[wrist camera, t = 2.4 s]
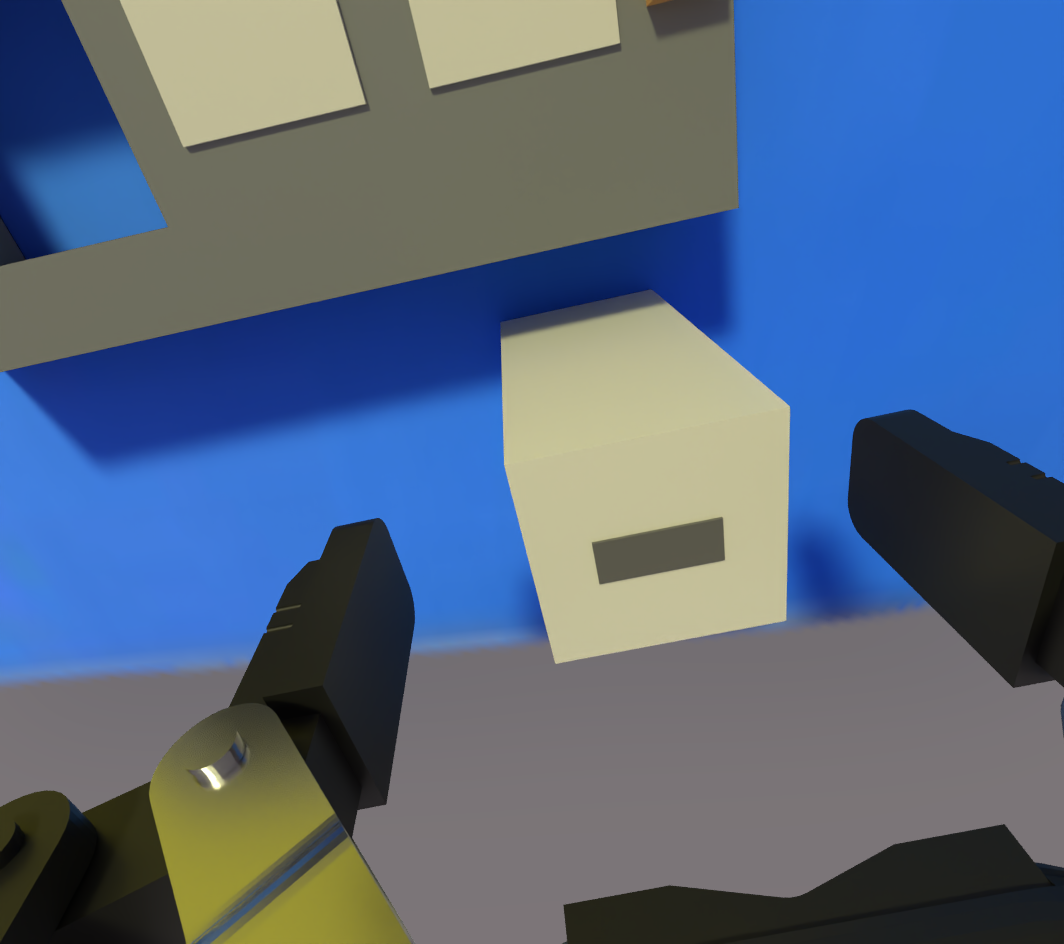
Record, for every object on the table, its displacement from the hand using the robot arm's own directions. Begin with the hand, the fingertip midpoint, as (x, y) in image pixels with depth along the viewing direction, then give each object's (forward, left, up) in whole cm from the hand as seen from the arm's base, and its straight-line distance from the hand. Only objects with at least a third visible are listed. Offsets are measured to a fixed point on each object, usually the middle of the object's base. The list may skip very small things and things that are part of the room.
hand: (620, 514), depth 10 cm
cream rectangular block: (0, 0, -7) cm, 7 cm away
